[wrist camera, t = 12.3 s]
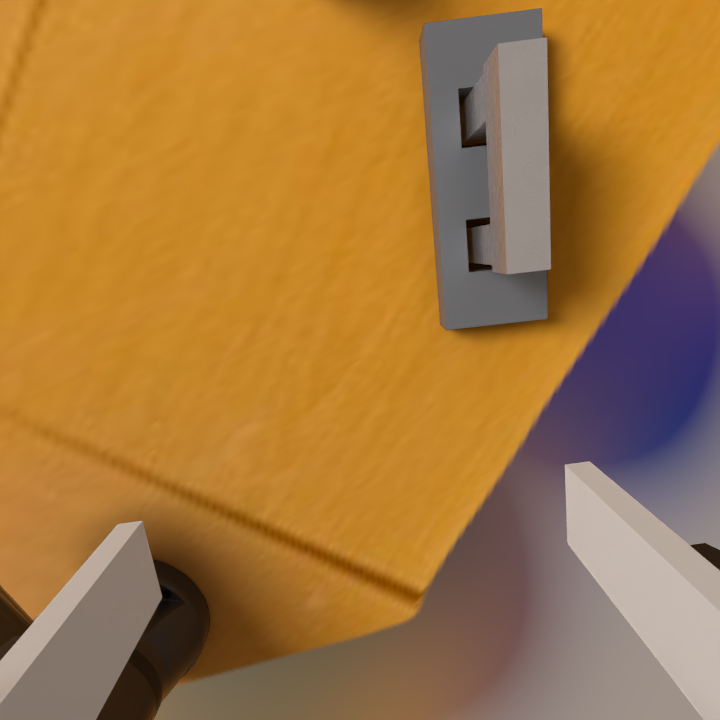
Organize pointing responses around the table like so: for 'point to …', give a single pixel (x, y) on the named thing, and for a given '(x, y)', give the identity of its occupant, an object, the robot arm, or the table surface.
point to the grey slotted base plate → (469, 172)
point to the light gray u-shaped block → (512, 157)
